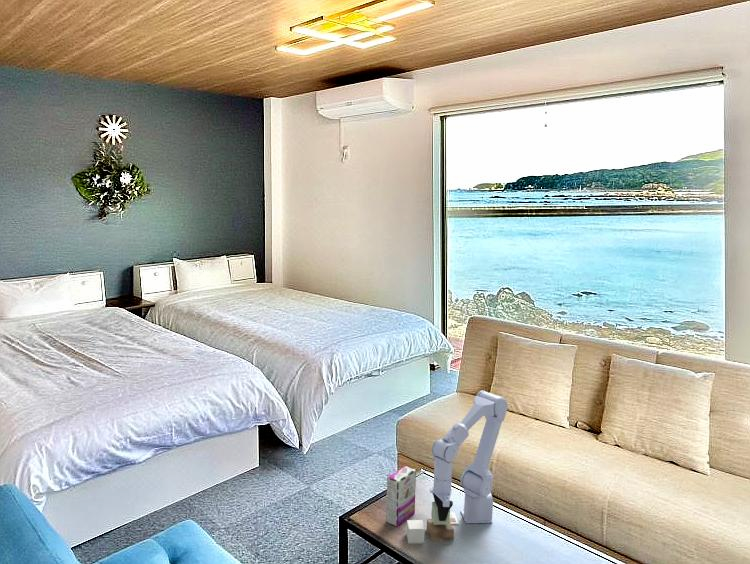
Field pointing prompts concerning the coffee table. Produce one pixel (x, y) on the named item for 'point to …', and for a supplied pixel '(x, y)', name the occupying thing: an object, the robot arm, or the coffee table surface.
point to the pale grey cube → (415, 531)
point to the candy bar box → (400, 495)
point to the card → (453, 519)
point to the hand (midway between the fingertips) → (440, 515)
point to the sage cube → (435, 515)
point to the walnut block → (440, 531)
